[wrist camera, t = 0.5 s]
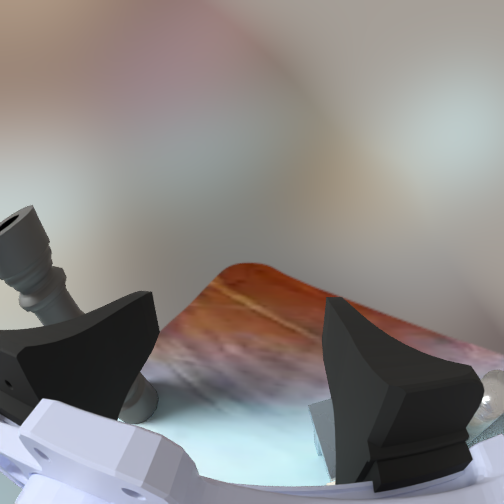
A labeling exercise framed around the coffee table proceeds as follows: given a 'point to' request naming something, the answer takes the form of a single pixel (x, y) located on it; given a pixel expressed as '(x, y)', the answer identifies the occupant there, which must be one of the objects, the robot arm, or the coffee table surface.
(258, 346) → the coffee table surface
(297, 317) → the coffee table surface
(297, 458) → the coffee table surface
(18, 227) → the candle holder
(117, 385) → the robot arm
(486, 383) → the peg
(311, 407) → the grey arch block
